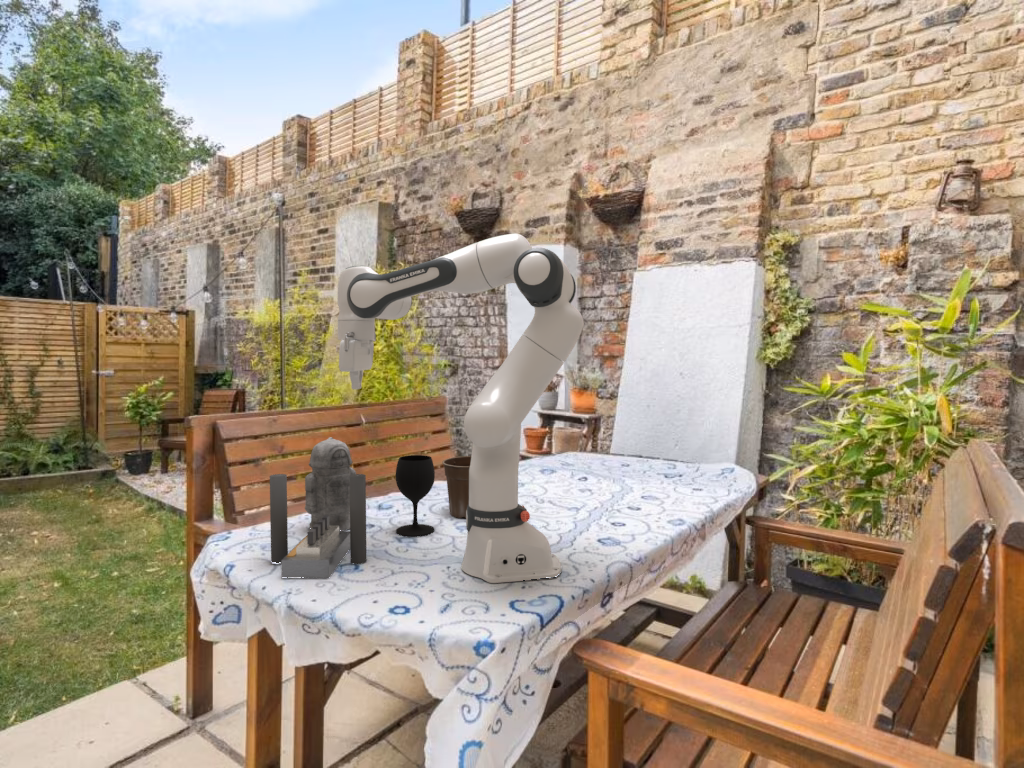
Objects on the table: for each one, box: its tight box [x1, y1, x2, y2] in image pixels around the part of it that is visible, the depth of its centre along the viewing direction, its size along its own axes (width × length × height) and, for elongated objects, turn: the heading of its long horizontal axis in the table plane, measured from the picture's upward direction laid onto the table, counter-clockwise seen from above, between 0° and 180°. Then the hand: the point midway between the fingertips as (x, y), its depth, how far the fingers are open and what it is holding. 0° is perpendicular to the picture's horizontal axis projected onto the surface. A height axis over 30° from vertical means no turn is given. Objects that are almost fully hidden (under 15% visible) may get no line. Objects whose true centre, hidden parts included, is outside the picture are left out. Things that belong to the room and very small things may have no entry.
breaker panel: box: [280, 526, 350, 579], centre depth 134 cm, size 10×20×6 cm, turn 2°
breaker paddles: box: [306, 515, 329, 544], centre depth 133 cm, size 1×13×3 cm, turn 2°
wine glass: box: [395, 454, 436, 538], centre depth 157 cm, size 10×10×20 cm
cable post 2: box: [349, 473, 368, 565], centre depth 134 cm, size 4×4×20 cm
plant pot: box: [441, 455, 472, 519], centre depth 174 cm, size 16×16×16 cm
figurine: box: [304, 436, 357, 531], centre depth 159 cm, size 10×14×25 cm
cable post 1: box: [269, 473, 289, 563], centre depth 133 cm, size 4×4×20 cm
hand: (356, 389), depth 144 cm, fingers closed
